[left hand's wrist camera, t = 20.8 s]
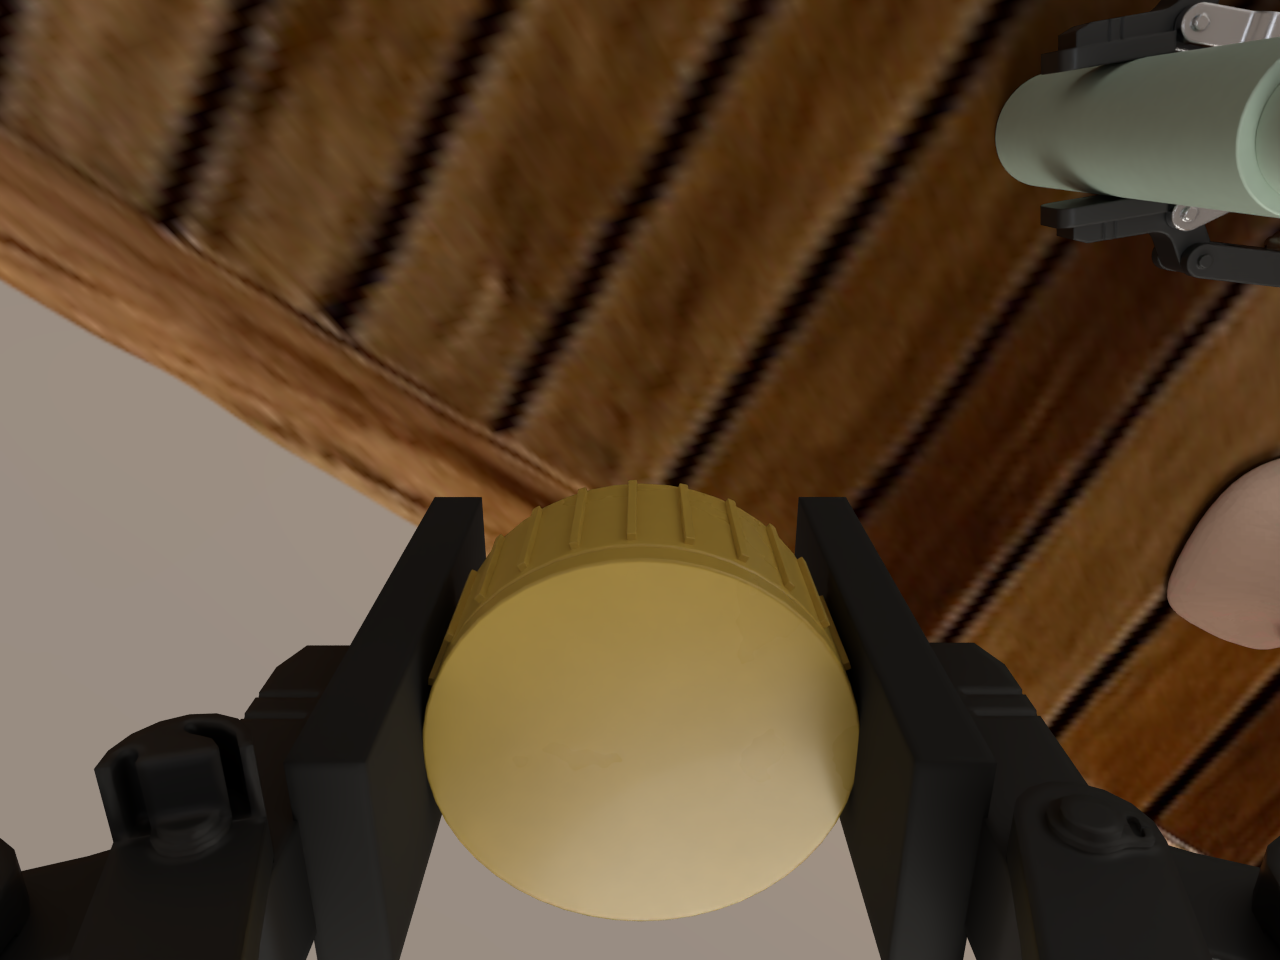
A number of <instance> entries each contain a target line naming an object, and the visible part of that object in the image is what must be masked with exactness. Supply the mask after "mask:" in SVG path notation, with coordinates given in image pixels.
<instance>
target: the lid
mask: <svg viewBox="0 0 1280 960" xmlns="http://www.w3.org/2000/svg"><path fill="white" fill-rule="evenodd" d="M849 669H851V665H850V662H849V660H848V657H847V655H846V652H845V650H844V647H843V645H842V642H841V640H840V637H839V635H838V632H837V630H836V627H835V625H834V622H833V620H832V617H831V615H830V612H829V610H828V607H827V605H826V602H825V600H824V597H823V595H822V596H819V595H818V592H817V589H816V587H815V584H814V582H813V579H812V577H811V574H810V572H809V569H808V566H807V564H806V562H805V560H804V559H803V557H800V558H799V559H797V558H796V557H795V555H794V554H793V553H792V552H791V551H790V549H789V548H788V547H787V546H786V545H785V544H784V543H783V542H782V541H781V539H780V538H779V537H778V534H777V532H776V529H775V527H774V526H772V525H771V524H768V525H767V526H765V525H764V524H762V523H761V522H760V521H759V520H757V519H755V518H754V517H752V516H751V515H749V514H748V513H746V512H744V511H743V510H741V509H740V508H738V507H736V504H735V501H733V500H731V499H729V498H728V499H727V501H726V502H725V501H723V500H721V499H718V498H716V497H713V496H710V495H707V494H703V493H700V492H697V491H694V490H690V489H688V485H685V484H679V487H674V486H669V485H655V484H637V481H636V480H629V481H628V485H615V486H609V487H604V488H598V489H593V490H589V491H587V489H586V488H582V489H579V490H578V494H576V495H573V496H570V497H567V498H564V499H562V500H560V501H558V502H556V503H554V504H551V505H549V506H547V507H545V508H543V509H541V507H540V506H538V507H536V508H535V509H533V511H532V515H531V516H530V517H529V518H527V519H526V520H524V521H523V522H521V523H520V524H519V525H518V526H517V527H515V528H514V529H513V530H512V531H511V532H509V533H508V534H507V535H506V536H505V537H504V536H503V535H501V534H500V535H499V536H498V537H497V538H496V540H495V542H494V545H493V548H492V551H491V552H490V553H489V555H488V556H487V558H486V559H485V561H484V562H483V564H482V565H481V567H480V568H479V570H478V571H475V570H471V572H470V574H469V576H468V578H467V581H466V584H465V586H464V589H463V591H462V594H461V596H460V599H459V601H458V604H457V607H456V609H455V612H454V614H453V617H452V619H451V622H450V624H449V627H448V629H447V632H446V635H445V637H444V640H443V642H442V645H441V647H440V650H439V653H438V655H437V658H436V660H435V663H434V665H433V668H432V670H431V673H430V676H429V678H428V685H432V687H431V691H430V694H429V697H428V700H427V704H426V708H425V715H424V722H423V729H422V733H423V751H424V761H425V767H426V773H427V778H428V781H429V784H430V787H431V790H432V793H433V796H434V799H435V801H436V803H437V805H438V807H439V809H440V811H441V813H442V815H443V817H444V819H445V821H446V822H447V824H448V825H449V826H450V828H451V829H452V831H453V832H454V834H455V835H456V836H457V838H458V839H459V841H460V842H461V843H462V844H463V845H464V846H465V847H466V848H467V850H468V851H469V852H470V853H471V854H472V855H473V856H474V857H475V858H476V859H477V860H478V861H479V862H480V863H482V864H483V865H484V866H485V867H486V868H488V869H489V870H490V871H491V872H492V873H494V874H495V875H496V876H498V877H499V878H501V879H502V880H504V881H505V882H507V883H508V884H510V885H511V886H513V887H514V888H516V889H518V890H520V891H522V892H524V893H526V894H528V895H530V896H532V897H534V898H536V899H538V900H540V901H542V902H545V903H548V904H550V905H553V906H556V907H559V908H561V909H564V910H568V911H572V912H576V913H580V914H583V915H587V916H593V917H599V918H606V919H612V920H627V921H656V920H670V919H677V918H684V917H690V916H695V915H699V914H703V913H707V912H711V911H715V910H719V909H721V908H724V907H727V906H729V905H732V904H735V903H738V902H740V901H743V900H745V899H747V898H749V897H751V896H753V895H755V894H757V893H759V892H761V891H763V890H765V889H767V888H768V887H770V886H771V885H773V884H774V883H776V882H778V881H779V880H781V879H782V878H784V877H785V876H787V875H788V874H789V873H790V872H792V871H793V870H794V869H795V868H796V867H798V866H799V865H800V864H801V863H802V862H804V861H805V860H806V859H807V858H808V857H809V856H810V855H811V853H813V851H814V850H815V849H816V848H817V847H818V846H819V845H820V844H821V843H822V842H823V840H824V839H825V838H826V836H827V835H828V833H829V832H830V831H831V829H832V828H833V827H834V825H835V824H836V822H837V820H838V818H839V816H840V815H841V813H842V811H843V809H844V807H845V805H846V803H847V801H848V798H849V795H850V792H851V790H852V787H853V784H854V777H855V768H856V759H857V749H858V739H859V715H858V707H857V704H856V701H855V697H854V694H853V690H852V687H851V684H850V681H849V679H848V676H847V673H846V670H849Z"/></svg>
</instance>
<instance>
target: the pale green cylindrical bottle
mask: <svg viewBox="0 0 1280 960" xmlns="http://www.w3.org/2000/svg"><path fill="white" fill-rule="evenodd" d="M995 139H996V148H997V153H998V156H999V159H1000V161H1001V163H1002V165H1003V166H1004V168H1005V169H1006V170H1007V172H1008V173H1009V174H1010V175H1011V176H1013V177H1014V178H1015V179H1017V180H1019V181H1021V182H1023V183H1025V184H1028V185H1033V186H1040V187H1047V188H1055V189H1062V190H1070V191H1078V192H1085V193H1093V194H1100V195H1108V196H1116V197H1123V198H1131V199H1138V200H1146V201H1154V202H1161V203H1169V204H1176V205H1184V206H1192V207H1199V208H1207V209H1214V210H1222V211H1229V212H1237V213H1245V214H1252V215H1260V216H1267V217H1275V218H1280V37H1274V38H1268V39H1261V40H1255V41H1248V42H1242V43H1235V44H1229V45H1222V46H1216V47H1209V48H1203V49H1196V50H1189V51H1183V52H1176V53H1170V54H1163V55H1157V56H1150V57H1145V58H1141V59H1135V60H1129V61H1123V62H1118V63H1112V64H1106V65H1100V66H1094V67H1089V68H1083V69H1077V70H1071V71H1065V72H1059V73H1052V74H1045V75H1041V74H1040V75H1038V76H1035V77H1033V78H1031V79H1030V80H1028V81H1027V82H1025V83H1024V84H1022V85H1021V86H1020V87H1019V88H1018V89H1017V90H1016V91H1015V92H1014V93H1013V94H1012V95H1011V96H1010V98H1009V99H1008V100H1007V102H1006V104H1005V105H1004V107H1003V109H1002V111H1001V114H1000V116H999V119H998V123H997V127H996V138H995Z"/></svg>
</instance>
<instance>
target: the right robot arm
mask: <svg viewBox="0 0 1280 960" xmlns="http://www.w3.org/2000/svg"><path fill="white" fill-rule="evenodd" d="M1218 2H1219V0H1161V1H1160V2H1159V3H1158V5H1157V6H1156V7H1155V8H1154V9H1153V10H1151V11H1150V12H1147V13H1141V14H1136V15H1130V16H1124V17H1119V18H1113V19H1107V20H1102V21H1096V22H1091V23H1087V24H1083V25H1079V26H1075V27H1072V28H1070V29H1069V30H1067V31H1065V32H1064V33H1062V34H1060V35H1059V36H1058V51H1055V52H1050V53H1045V54H1041V75H1045V74H1052V73H1059V72H1065V71H1071V70H1077V69H1083V68H1089V67H1094V66H1100V65H1106V64H1112V63H1118V62H1123V61H1129V60H1135V59H1141V58H1145V57H1150V56H1157V55H1163V54H1170V53H1176V52H1183V51H1189V50H1196V49H1203V48H1209V47H1216V46H1222V45H1229V44H1235V43H1242V42H1248V41H1255V40H1261V39H1268V38H1274V37H1280V12H1275V11H1251V10H1246V9H1240V8H1235V7H1229V6H1224V5H1219V4H1218ZM1228 212H1229V211H1222V210H1214V209H1207V208H1199V207H1192V206H1184V205H1176V204H1169V203H1161V202H1154V201H1146V200H1138V199H1131V198H1123V197H1116V196H1108V195H1095V196H1089V197H1083V198H1077V199H1071V200H1065V201H1059V202H1053V203H1048V204H1043V205H1041V225H1044V226H1048V227H1053V228H1057V236H1060V237H1064V238H1069V239H1073V240H1077V241H1081V242H1085V243H1091V242H1097V241H1102V240H1109V239H1114V238H1121V237H1127V236H1133V235H1140V234H1146V233H1149V234H1150V236H1151V237H1152V239H1153V242H1154V245H1155V247H1154V249H1153V252H1152V260H1153V263H1154V264H1155V265H1156V266H1157V267H1159V268H1161V269H1165V270H1170V271H1179V272H1182V273H1185V274H1186V275H1189V276H1192V277H1196V278H1203V279H1212V280H1221V281H1230V282H1238V283H1247V284H1256V285H1265V286H1273V287H1280V230H1279V231H1278V232H1276V233H1275V234H1274V235H1273V236H1271V237H1269V238H1267V239H1266V241H1265V243H1264V246H1265V248H1263V247H1254V246H1246V245H1237V244H1229V243H1220V242H1211V241H1210V239H1209V236H1208V233H1207V230H1206V227H1205V223H1208V222H1210V221H1212V220H1214V219H1216V218H1218V217H1220V216H1222V215H1224V214H1226V213H1228Z"/></svg>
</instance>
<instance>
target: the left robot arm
mask: <svg viewBox="0 0 1280 960" xmlns="http://www.w3.org/2000/svg"><path fill="white" fill-rule="evenodd" d="M795 557H796V558H797V559H799V558H800V557H803V559H804V560H805V562H806V564H807V566H808V569H809V572H810V574H811V577H812V579H813V582H814V584H815V587H816V589H817V592H818V595H819V596H822V595H823V597H824V600H825V602H826V605H827V607H828V610H829V612H830V615H831V617H832V620H833V622H834V625H835V627H836V630H837V632H838V635H839V637H840V640H841V642H842V645H843V647H844V650H845V652H846V655H847V657H848V660H849V662H850V665H851V669H849V670H846V673H847V676H848V679H849V681H850V684H851V687H852V690H853V694H854V697H855V701H856V704H857V707H858V715H859V739H858V749H857V759H856V768H855V777H854V784H853V787H852V790H851V792H850V795H849V798H848V801H847V803H846V805H845V807H844V809H843V811H842V813H841V815H840V816H839V817H840V821H841V824H842V827H843V831H844V834H845V837H846V841H847V844H848V848H849V851H850V855H851V858H852V862H853V865H854V868H855V872H856V875H857V879H858V882H859V885H860V889H861V892H862V896H863V899H864V903H865V906H866V909H867V913H868V916H869V920H870V923H871V926H872V930H873V933H874V936H875V940H876V944H877V947H878V950H879V953H880V957H881V960H963V957H964V951H965V946H966V940H967V938H968V940H969V943H970V945H971V947H972V950H973V952H974V955H975V957H976V960H1280V836H1279V837H1278V838H1277V839H1275V840H1274V841H1273V842H1272V843H1271V844H1269V845H1268V846H1267V850H1266V853H1265V856H1264V859H1263V862H1262V865H1261V868H1259V867H1255V866H1250V865H1246V864H1241V863H1237V862H1232V861H1228V860H1223V859H1219V858H1215V857H1210V856H1206V855H1201V854H1197V853H1193V852H1189V851H1186V850H1182V849H1179V848H1176V847H1172V846H1169V845H1168V843H1167V841H1166V839H1165V838H1164V836H1163V835H1162V833H1161V832H1160V830H1159V829H1158V827H1157V826H1156V824H1155V823H1154V821H1152V820H1151V819H1150V818H1149V817H1147V816H1146V815H1145V814H1144V813H1143V812H1141V811H1140V810H1139V809H1138V808H1136V807H1135V806H1134V805H1133V804H1131V803H1129V802H1127V801H1125V800H1123V799H1121V798H1119V797H1117V796H1115V795H1113V794H1111V793H1109V792H1107V791H1105V790H1102V789H1099V788H1095V787H1091V786H1088V784H1087V783H1086V781H1085V780H1084V779H1083V777H1082V776H1081V774H1080V773H1079V771H1078V770H1077V768H1076V767H1075V766H1074V764H1073V763H1072V761H1071V760H1070V758H1069V757H1068V755H1067V754H1066V753H1065V751H1064V750H1063V748H1062V747H1061V745H1060V744H1059V742H1058V741H1057V740H1056V738H1055V737H1054V735H1053V734H1052V732H1051V731H1050V729H1049V728H1048V727H1047V725H1046V724H1045V722H1044V721H1043V719H1042V718H1041V716H1037V714H1036V709H1035V708H1034V706H1033V705H1032V703H1031V702H1030V700H1029V699H1028V698H1027V696H1026V695H1022V689H1021V687H1020V686H1019V685H1018V683H1017V682H1016V680H1015V679H1014V677H1013V676H1012V674H1011V673H1010V672H1009V670H1008V669H1007V667H1006V666H1005V664H1003V663H1002V662H1000V661H999V660H998V659H996V658H995V657H993V656H992V655H990V654H989V653H988V652H986V651H985V650H983V649H982V648H981V647H979V646H978V645H976V644H975V643H929V642H928V640H927V639H926V637H925V635H924V633H923V632H922V630H921V628H920V626H919V625H918V623H917V621H916V619H915V618H914V616H913V614H912V612H911V611H910V609H909V607H908V605H907V604H906V602H905V600H904V598H903V597H902V595H901V593H900V591H899V590H898V588H897V586H896V584H895V583H894V581H893V579H892V577H891V576H890V574H889V572H888V570H887V569H886V567H885V565H884V563H883V562H882V560H881V558H880V556H879V555H878V553H877V551H876V549H875V548H874V546H873V544H872V542H871V541H870V539H869V537H868V535H867V534H866V532H865V530H864V528H863V527H862V525H861V523H860V521H859V520H858V518H857V516H856V514H855V513H854V511H853V509H852V507H851V506H850V504H849V502H848V500H847V499H846V497H799V502H798V516H797V531H796V545H795ZM485 559H486V552H485V538H484V523H483V508H482V497H435V498H434V499H433V501H432V503H431V505H430V506H429V508H428V510H427V512H426V514H425V515H424V517H423V519H422V521H421V522H420V524H419V526H418V528H417V529H416V531H415V533H414V535H413V536H412V538H411V540H410V542H409V543H408V545H407V547H406V549H405V550H404V552H403V554H402V556H401V557H400V559H399V561H398V563H397V564H396V566H395V568H394V570H393V571H392V573H391V575H390V577H389V578H388V580H387V582H386V584H385V585H384V587H383V589H382V591H381V592H380V594H379V596H378V598H377V599H376V601H375V603H374V605H373V607H372V608H371V610H370V612H369V613H368V615H367V617H366V619H365V620H364V622H363V624H362V626H361V628H360V629H359V631H358V633H357V634H356V636H355V638H354V640H353V641H352V643H351V645H350V646H306V647H304V648H303V649H302V650H300V651H299V652H297V653H296V654H294V655H293V656H292V657H290V658H289V659H287V660H286V661H285V662H283V663H282V664H280V665H279V666H278V667H276V669H275V670H274V672H273V673H272V674H271V676H270V677H269V679H268V680H267V682H266V683H265V685H264V686H263V688H262V689H261V691H260V692H259V698H255V699H254V701H253V702H252V704H251V705H250V707H249V708H248V710H247V711H246V712H245V718H244V719H241V720H239V719H238V718H233V717H229V716H225V715H221V714H217V713H215V714H189V715H185V716H181V717H177V718H172V719H168V720H164V721H160V722H158V723H155V724H153V725H151V726H149V727H146V728H144V729H142V730H140V731H137V732H135V733H133V734H131V735H129V736H128V737H127V738H125V739H124V740H122V741H121V742H120V743H118V744H117V745H115V746H114V747H113V748H111V749H110V750H108V752H107V753H106V754H105V755H104V757H103V758H102V759H101V761H100V762H99V763H98V765H97V766H96V767H95V769H94V771H95V775H96V778H97V782H98V786H99V789H100V793H101V797H102V801H103V805H104V808H105V812H106V816H107V820H108V823H109V827H110V831H111V835H112V838H113V845H112V848H111V850H107V851H104V852H101V853H97V854H94V855H90V856H87V857H83V858H78V859H73V860H69V861H65V862H60V863H56V864H51V865H47V866H42V867H38V868H34V869H29V870H25V871H21V869H20V866H19V863H18V860H17V857H16V854H15V850H14V849H13V848H12V847H11V846H9V845H8V844H7V843H6V842H4V841H3V840H2V839H1V838H0V960H306V958H307V956H308V953H309V951H310V948H311V946H312V943H313V941H314V942H315V948H316V954H317V960H399V959H400V956H401V952H402V949H403V945H404V942H405V938H406V935H407V932H408V928H409V925H410V921H411V918H412V915H413V911H414V908H415V904H416V901H417V897H418V894H419V891H420V887H421V884H422V880H423V877H424V874H425V870H426V867H427V863H428V860H429V856H430V853H431V850H432V846H433V843H434V839H435V836H436V833H437V829H438V826H439V822H440V819H441V816H442V813H441V811H440V809H439V807H438V805H437V803H436V801H435V799H434V796H433V793H432V790H431V787H430V784H429V781H428V778H427V773H426V767H425V761H424V751H423V733H422V729H423V722H424V715H425V708H426V704H427V700H428V697H429V694H430V691H431V687H432V685H428V678H429V676H430V673H431V670H432V668H433V665H434V663H435V660H436V658H437V655H438V653H439V650H440V647H441V645H442V642H443V640H444V637H445V635H446V632H447V629H448V627H449V624H450V622H451V619H452V617H453V614H454V612H455V609H456V607H457V604H458V601H459V599H460V596H461V594H462V591H463V589H464V586H465V584H466V581H467V578H468V576H469V574H470V572H471V570H475V571H478V570H479V568H480V567H481V565H482V564H483V562H484V561H485Z"/></svg>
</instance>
